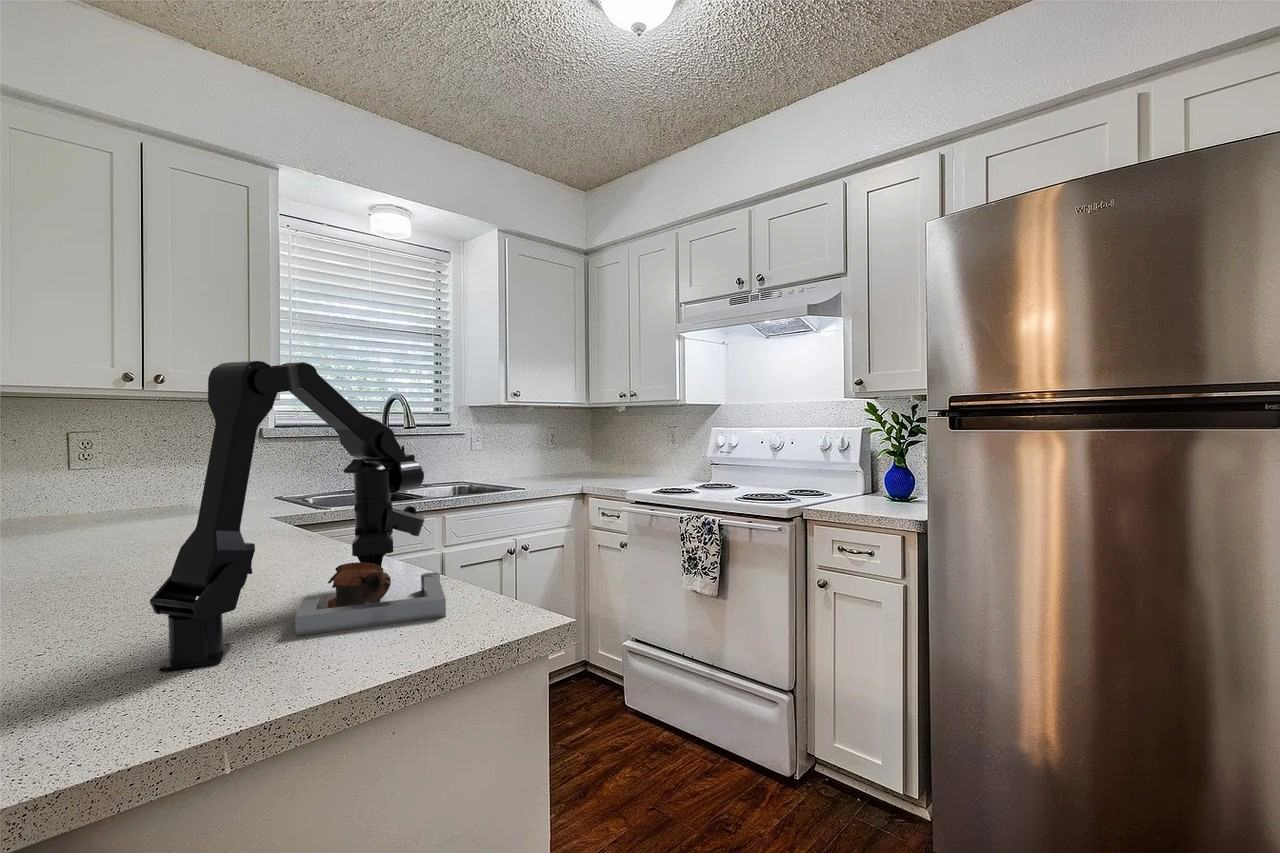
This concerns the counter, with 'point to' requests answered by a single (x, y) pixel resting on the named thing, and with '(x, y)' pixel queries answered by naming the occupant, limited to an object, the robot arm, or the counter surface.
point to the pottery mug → (358, 584)
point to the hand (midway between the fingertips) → (374, 584)
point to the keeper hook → (372, 610)
